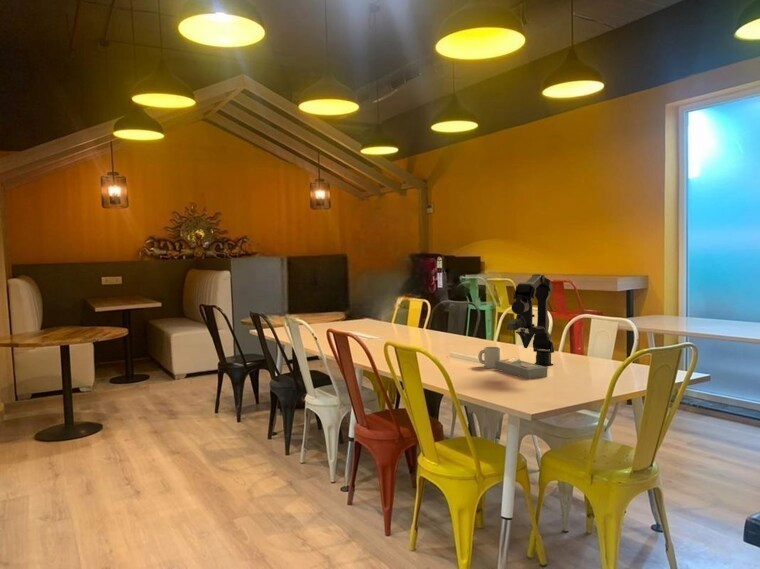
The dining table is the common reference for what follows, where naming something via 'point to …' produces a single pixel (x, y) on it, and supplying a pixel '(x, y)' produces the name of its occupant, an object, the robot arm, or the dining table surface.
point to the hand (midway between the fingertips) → (525, 348)
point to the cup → (489, 356)
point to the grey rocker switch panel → (521, 369)
